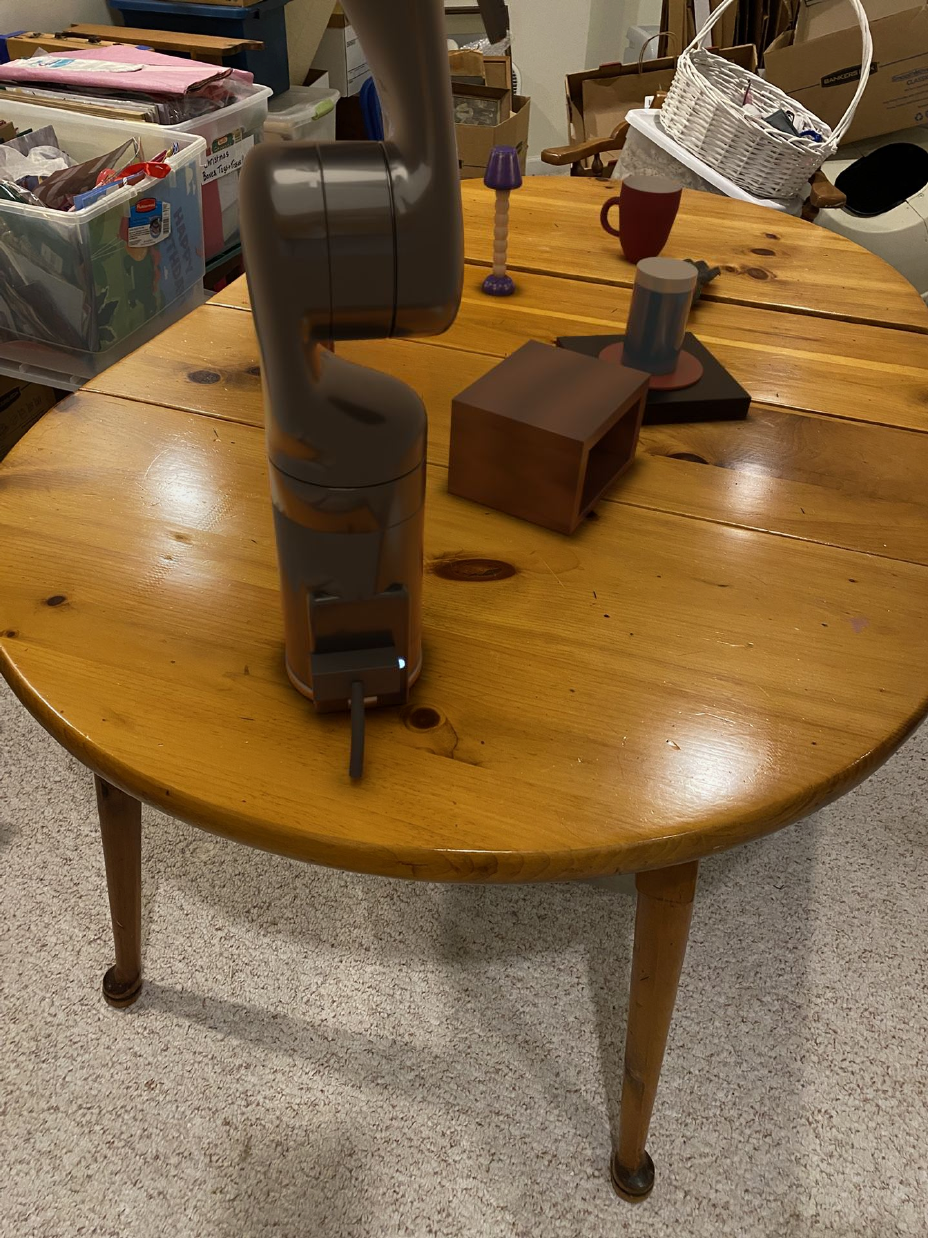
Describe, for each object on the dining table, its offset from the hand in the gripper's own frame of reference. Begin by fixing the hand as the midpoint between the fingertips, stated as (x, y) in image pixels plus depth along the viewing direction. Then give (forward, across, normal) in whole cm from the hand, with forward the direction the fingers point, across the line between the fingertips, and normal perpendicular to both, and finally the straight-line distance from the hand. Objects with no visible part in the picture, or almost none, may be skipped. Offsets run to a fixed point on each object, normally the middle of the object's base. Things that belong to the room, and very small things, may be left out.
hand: (453, 56), depth 74 cm
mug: (+24, +36, +44) cm, 61 cm away
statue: (+31, +34, +29) cm, 54 cm away
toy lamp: (+21, +13, +38) cm, 45 cm away
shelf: (+34, -4, -1) cm, 35 cm away
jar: (+31, +15, +10) cm, 36 cm away
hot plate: (+34, +15, +11) cm, 39 cm away
